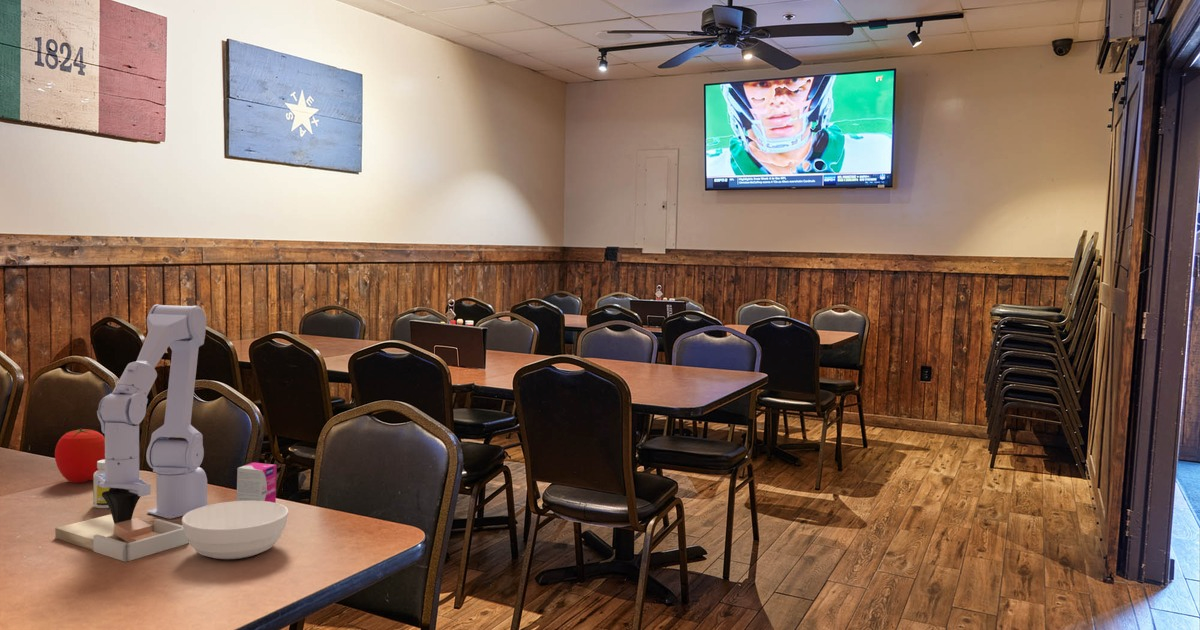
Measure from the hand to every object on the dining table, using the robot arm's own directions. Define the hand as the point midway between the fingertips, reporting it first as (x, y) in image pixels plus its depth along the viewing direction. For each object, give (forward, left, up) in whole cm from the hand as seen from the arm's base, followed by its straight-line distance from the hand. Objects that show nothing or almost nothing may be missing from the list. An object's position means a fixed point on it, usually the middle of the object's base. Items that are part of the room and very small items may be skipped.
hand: (122, 527), depth 165 cm
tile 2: (0, +8, -2) cm, 8 cm away
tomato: (-20, -48, -3) cm, 52 cm away
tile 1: (0, +3, -1) cm, 3 cm away
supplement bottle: (-12, -25, -3) cm, 28 cm away
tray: (0, +6, -3) cm, 7 cm away
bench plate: (0, -5, -3) cm, 6 cm away
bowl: (-8, +22, -3) cm, 24 cm away
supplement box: (-23, +9, -3) cm, 25 cm away
